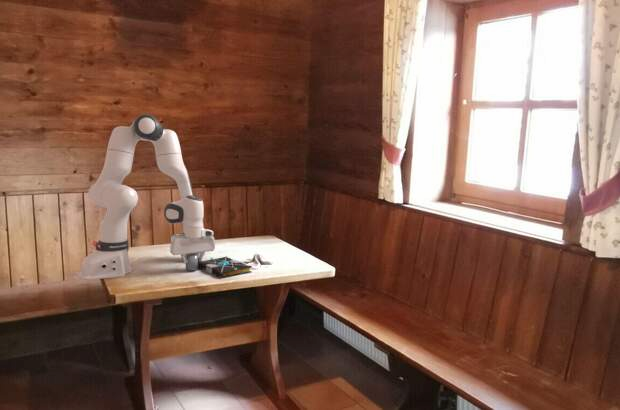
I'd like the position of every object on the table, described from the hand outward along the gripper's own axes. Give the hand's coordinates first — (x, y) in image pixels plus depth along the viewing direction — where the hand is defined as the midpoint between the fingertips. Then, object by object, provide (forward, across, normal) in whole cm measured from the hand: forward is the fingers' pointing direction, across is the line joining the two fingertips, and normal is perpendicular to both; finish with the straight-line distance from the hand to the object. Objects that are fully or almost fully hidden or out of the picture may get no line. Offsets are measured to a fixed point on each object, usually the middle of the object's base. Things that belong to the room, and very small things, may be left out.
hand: (192, 262), depth 233 cm
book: (+4, +13, -5) cm, 15 cm away
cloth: (+4, +33, -4) cm, 34 cm away
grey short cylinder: (+3, 0, +1) cm, 3 cm away
